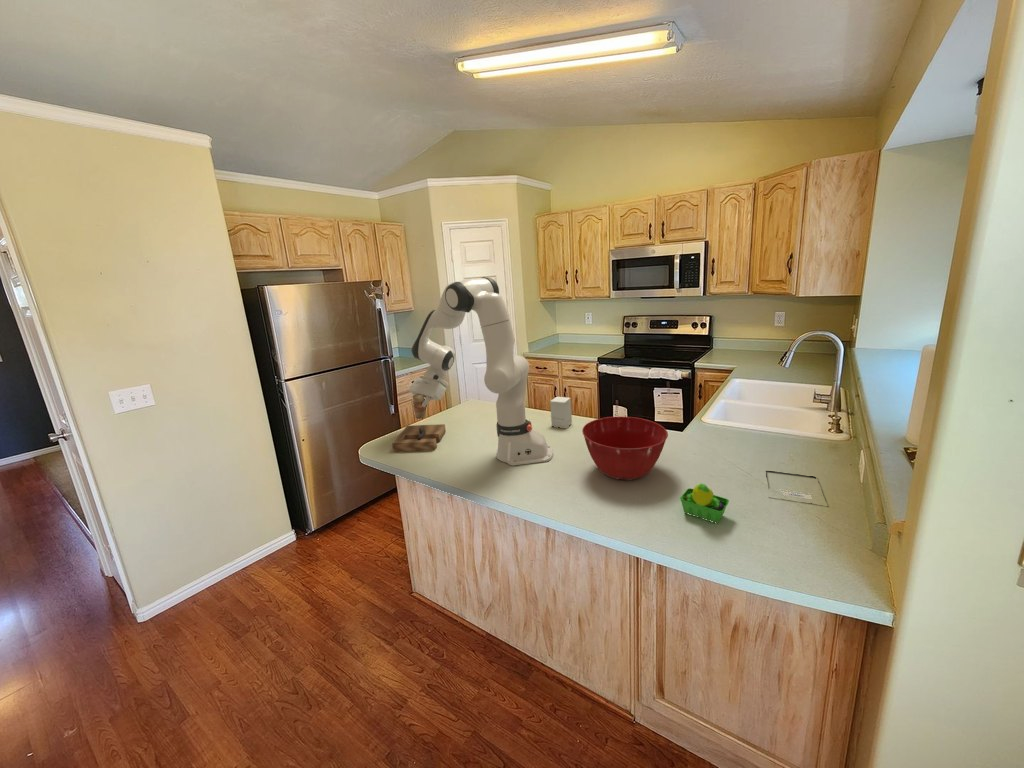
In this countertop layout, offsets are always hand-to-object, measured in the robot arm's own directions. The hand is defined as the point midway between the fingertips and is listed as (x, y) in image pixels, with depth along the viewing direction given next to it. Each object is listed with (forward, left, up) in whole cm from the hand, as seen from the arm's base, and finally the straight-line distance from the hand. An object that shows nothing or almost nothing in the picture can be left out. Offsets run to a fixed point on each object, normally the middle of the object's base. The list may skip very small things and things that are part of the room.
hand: (418, 404), depth 188 cm
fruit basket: (-100, +65, -16) cm, 121 cm away
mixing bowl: (-83, +37, -16) cm, 93 cm away
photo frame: (-132, +51, -16) cm, 143 cm away
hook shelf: (0, +4, -16) cm, 16 cm away
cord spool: (0, -1, -6) cm, 6 cm away
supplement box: (-63, -9, -16) cm, 66 cm away
